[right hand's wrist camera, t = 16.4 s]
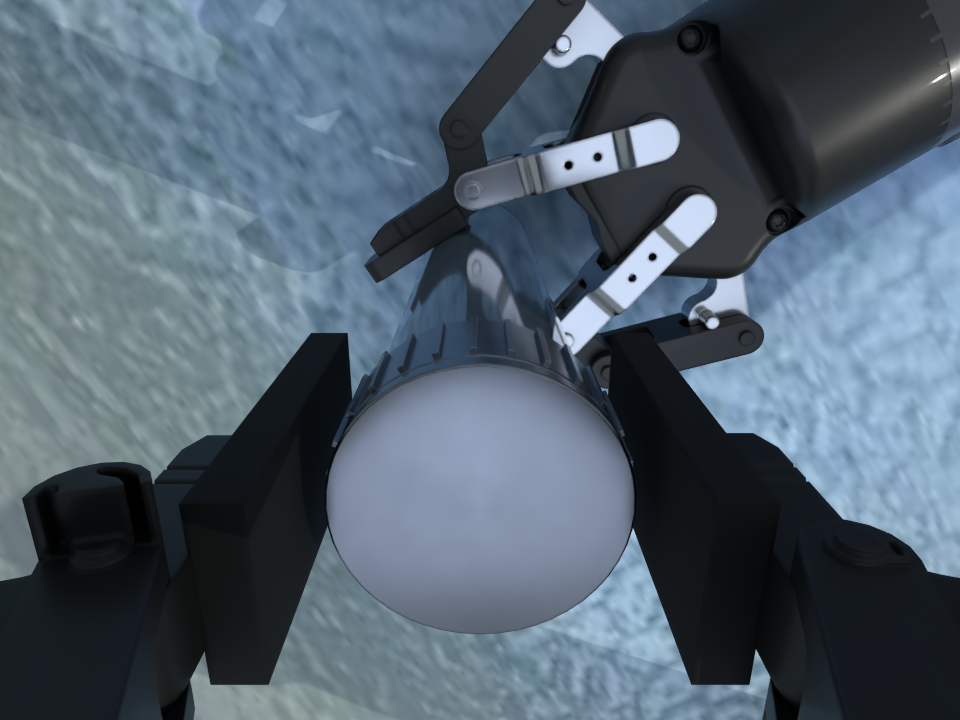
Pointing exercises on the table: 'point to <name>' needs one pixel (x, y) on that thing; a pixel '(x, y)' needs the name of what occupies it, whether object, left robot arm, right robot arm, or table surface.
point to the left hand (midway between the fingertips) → (415, 325)
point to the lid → (480, 479)
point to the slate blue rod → (481, 280)
